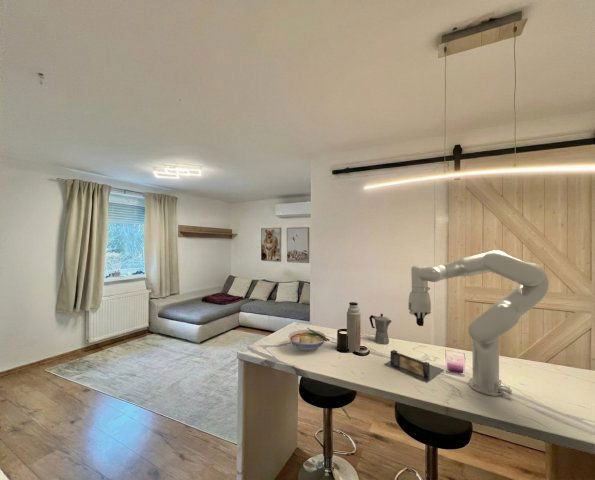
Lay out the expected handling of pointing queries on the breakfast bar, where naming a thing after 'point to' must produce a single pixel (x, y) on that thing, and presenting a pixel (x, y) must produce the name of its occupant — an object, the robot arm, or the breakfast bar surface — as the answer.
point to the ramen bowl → (307, 339)
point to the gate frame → (428, 375)
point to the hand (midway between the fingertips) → (420, 325)
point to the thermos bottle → (354, 327)
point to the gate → (411, 364)
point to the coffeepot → (381, 328)
